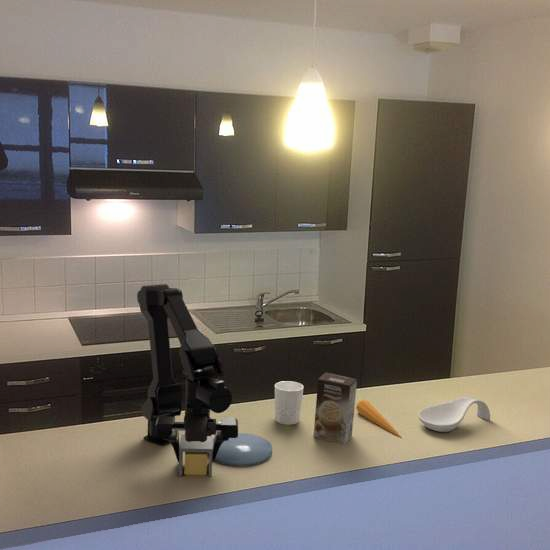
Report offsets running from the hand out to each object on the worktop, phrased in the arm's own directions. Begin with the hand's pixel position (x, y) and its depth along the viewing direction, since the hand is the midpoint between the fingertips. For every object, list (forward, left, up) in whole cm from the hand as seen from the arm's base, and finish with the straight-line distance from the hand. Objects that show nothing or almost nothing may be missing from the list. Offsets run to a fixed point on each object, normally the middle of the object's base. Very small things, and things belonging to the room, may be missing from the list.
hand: (195, 461), depth 157 cm
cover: (0, 0, -2) cm, 2 cm away
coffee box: (+18, +36, -2) cm, 40 cm away
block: (0, 0, -2) cm, 2 cm away
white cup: (+3, +38, -2) cm, 38 cm away
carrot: (+25, +51, -2) cm, 57 cm away
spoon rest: (+42, +65, -2) cm, 77 cm away
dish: (+3, +14, -2) cm, 14 cm away
